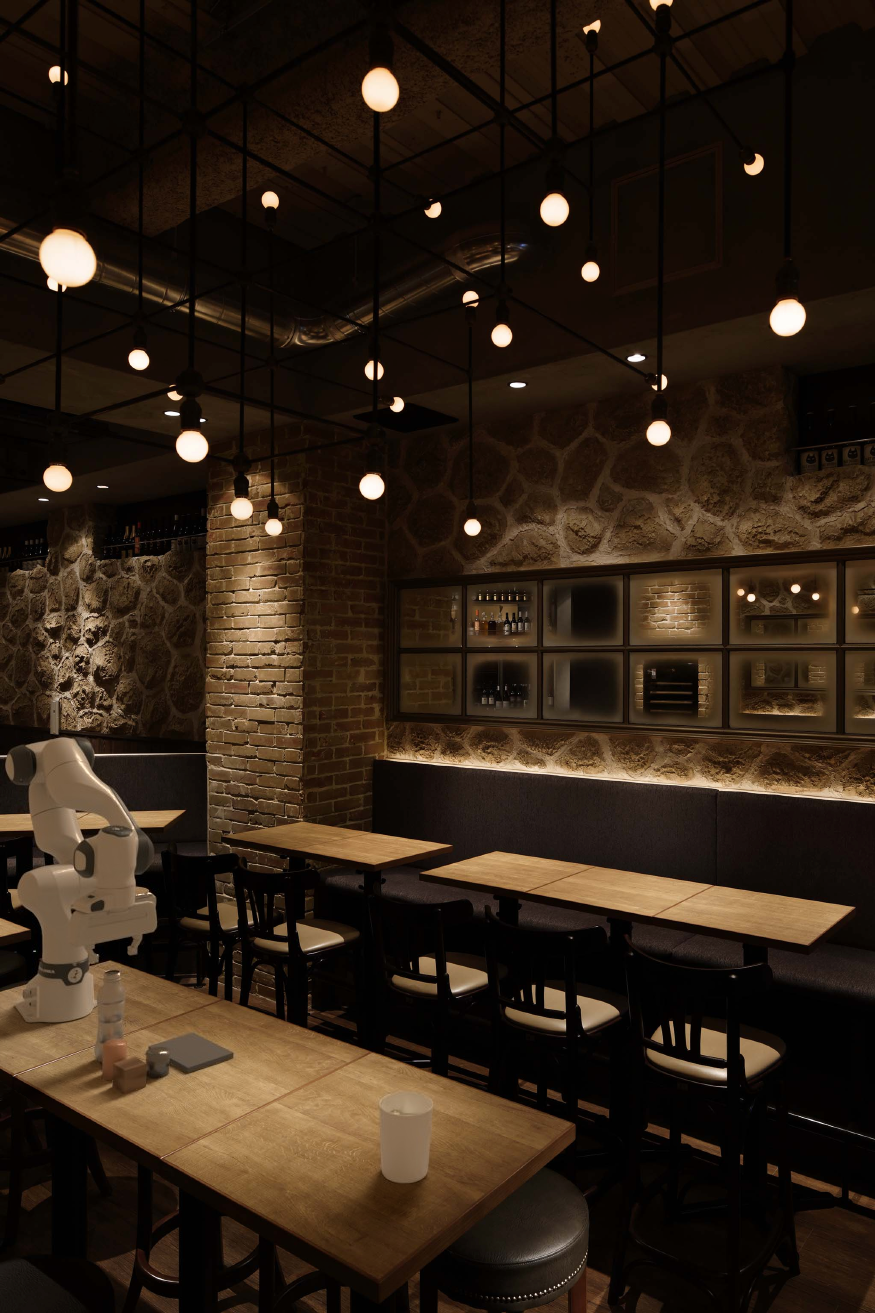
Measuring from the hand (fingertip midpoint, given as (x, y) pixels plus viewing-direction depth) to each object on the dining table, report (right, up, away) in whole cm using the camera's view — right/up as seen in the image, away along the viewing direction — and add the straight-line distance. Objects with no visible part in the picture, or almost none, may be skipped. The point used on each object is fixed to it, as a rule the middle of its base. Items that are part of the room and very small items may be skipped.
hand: (113, 958), depth 204 cm
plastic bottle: (-1, -23, -1) cm, 23 cm away
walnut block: (+9, -23, -14) cm, 28 cm away
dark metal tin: (+12, -23, -7) cm, 27 cm away
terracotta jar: (+3, -23, -8) cm, 25 cm away
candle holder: (+69, -23, -45) cm, 85 cm away
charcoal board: (+17, -24, +4) cm, 29 cm away
